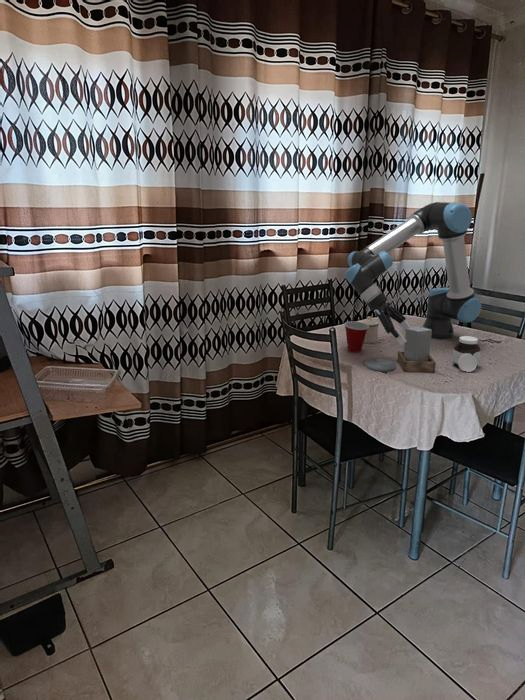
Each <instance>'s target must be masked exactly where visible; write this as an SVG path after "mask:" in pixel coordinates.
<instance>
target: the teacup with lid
mask: <svg viewBox="0 0 525 700" xmlns="http://www.w3.org/2000/svg"><path fill="white" fill-rule="evenodd" d="M359 322H361V323H365V324H367V325H369V328H368V329H367V332H366V335H365V339H364V343H363V344H375V343H377V342H378V332H379V331H378V330H379V325H380V323H379V322H378V321H377V320H374V319H373V318H372V316H367V317H366V318H365V319H362V320H360V321H359Z"/></svg>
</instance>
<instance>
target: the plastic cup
mask: <svg viewBox="0 0 525 700" xmlns="http://www.w3.org/2000/svg"><path fill="white" fill-rule="evenodd" d="M368 328H369V325H367V324H365V323H361V322H360V321H352V320H351V321H350V320H349V321H345V322H344V329H345V336H346V343H347V350H348V352H351V353H359V352H360V353H361V352H362V350H363V345H364V344H365V343H364V339H365V335H366V332H367V329H368Z"/></svg>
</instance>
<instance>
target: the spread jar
mask: <svg viewBox="0 0 525 700" xmlns="http://www.w3.org/2000/svg"><path fill="white" fill-rule="evenodd" d="M478 340H479V339H478V338H477V337H474V336H471V335H469V336H468V335H463V336H460V337H459V340H458V342H457V343H456V344H455V345H454V346H453V351H452V358H451V361H452V363H453V364H454V365H455V366H456V367H457V366H458V367H457V368H459V369H460V370H462V371H463V372H465V371H466V372H467V373H469V372H473V371H475V369H476V368H477V366H478V364H479V363H480V360H481V354H482V349H481V346H480V345H479V344H478V343H479V341H478ZM466 372H465V373H466Z"/></svg>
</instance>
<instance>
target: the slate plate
mask: <svg viewBox="0 0 525 700" xmlns="http://www.w3.org/2000/svg"><path fill="white" fill-rule="evenodd" d="M365 367H366V368H367V369H369V370H371V371H376V372H391V371H395V370H396V368H397V363H396V362H394V361H392V359H391V360H390V359H385V358H371V359H368V360H366V361H365ZM394 369H395V370H394Z"/></svg>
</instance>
